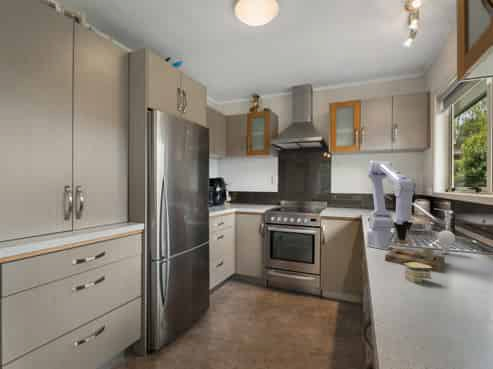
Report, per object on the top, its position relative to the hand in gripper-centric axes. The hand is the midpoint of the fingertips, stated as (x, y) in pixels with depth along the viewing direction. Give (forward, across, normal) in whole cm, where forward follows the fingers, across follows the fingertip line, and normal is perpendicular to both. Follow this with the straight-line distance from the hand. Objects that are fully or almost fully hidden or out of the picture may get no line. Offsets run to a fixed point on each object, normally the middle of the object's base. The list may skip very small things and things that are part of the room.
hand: (402, 239), depth 107 cm
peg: (+9, 0, -9) cm, 12 cm away
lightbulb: (+9, +25, -12) cm, 29 cm away
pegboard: (+9, 0, -4) cm, 10 cm away
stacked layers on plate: (+9, -23, -9) cm, 27 cm away
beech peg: (+2, 0, 0) cm, 2 cm away
